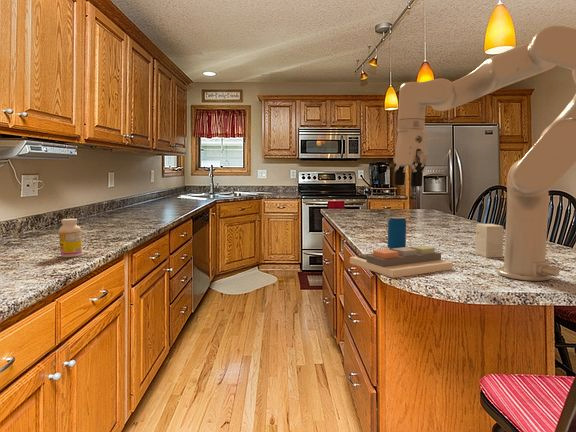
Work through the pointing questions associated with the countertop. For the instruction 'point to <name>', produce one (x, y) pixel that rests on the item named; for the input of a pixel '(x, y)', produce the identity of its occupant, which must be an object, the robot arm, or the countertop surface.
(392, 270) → the keypad
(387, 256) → the key terracotta
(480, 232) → the small box
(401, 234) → the beverage can
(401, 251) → the key slate
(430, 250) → the key sage
